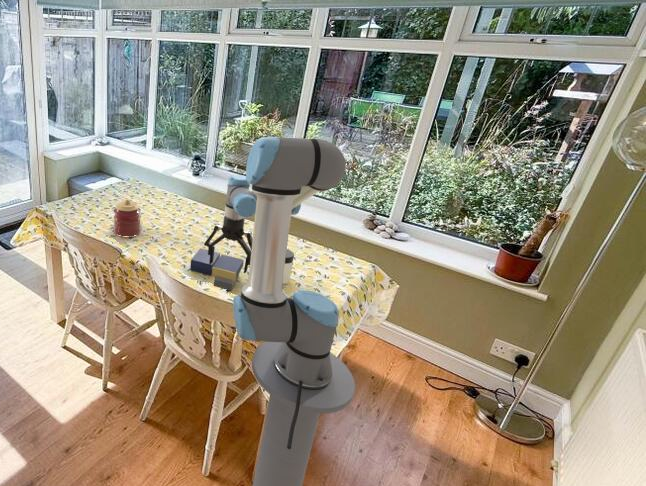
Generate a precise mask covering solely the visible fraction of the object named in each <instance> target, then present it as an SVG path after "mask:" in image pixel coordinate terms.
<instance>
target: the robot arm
mask: <svg viewBox="0 0 646 486" xmlns="http://www.w3.org/2000/svg"><path fill="white" fill-rule="evenodd" d="M346 169H347V163H346V159H345V156H344V154H343V152H342V150H340V149H339V147H338V146H336V145H335V144H334V143H332V142H331V141H328V140H325V139H321V138H304V137H284V136H264V137H259V138H258V139H257V140H255V141H254V143H253V144H252V146H251V148H250V150H249V154H248V156H247V161H246V166H245V171H246V172H245V175H241V174H233V175H230V176H229V178H228V181H227V189H226V198H225V205H224V216H223V223H222V226H221V225H220V224H219V223H215V225H214V226H213V230H212V232H211V233H210V235H209V236H208V237H207V239H206V241H205V242H204V243H203V246H205V247H207V250H208V255H210V262H209V264H212V262H213V258H214V252H215V248H216V245H217V244H218V243H220V242H221V241H222V240H224V239H226V240H228V241H233V242H237V243H238V244H239V245H240V247H241V248H242V250H243V251H244V253H245V255H246V256H245V260H244V267H243V274H246V273H247V272H248V280H247V283H246V284H244V285H243V286H241V289H240V294H237V295H236V294H235V295H234V297H233V299H232V307H233V308H232V310H233V319H234V320H233V321H234V324H235V329H236V332H237V335H238V336H239V338H241V339H242V340H244V341H250V342H252V341H254V342H256V343H258V342H283V343H282V345H281V346H280V348H279V349H278V351H277V352H276V354H275V358H274V366H275V369H276V371H277V372H278V374H279V375H280V376H281V377H282V378H283V379H284V380H286V381H287V382H289V383H290V384H292V385H294V386H297V387H298V393H297V401H296V408H295V412H294V416H293V420H292V423H291V427H290V432H289V438H288V444H287V448H288V449H291V445H292V439H293V433H294V428H295V424H296V420H297V417H298V413H299V407H300V399H301V391H302V388H303V389H308V390H319V389H323V388H325V387H327V386H328V385H329V384H330V382H331V378H332V366H331V360H330V352H331V349H332V347H333V346H332V345H333V342H334V338H335V334H336V330H337V327H338V325H339V317H340V312H339V308H338V306H337V304H335V302H334V301H332V300H331V299H330V298H329V297H327V296H325V295H323V294H321V293H319V292H316V291H314V290H309V289H298V290H297V291H295V292H294V293H293V295H292V297H288V295H287V293H286V292H285V290H284V289H283V284H282V282H283V274H284V266H285V258H286V250H287V249H288V243H289V242H288V241H289V234H290V226H291V218H292V217H291V216H295V215H298V214H299V212H300V210H301V207H302V204H303V203H304V202H306V201H307V200H309V199H310V198H312V197H313V196H315V195H316V194H318V193H319V192H324V191H329V190H331V189H333V188H334V187H336V186H337V185H338V184H339V183H340V182H341V181H342V180H343V178H344V176H345V174H346ZM250 187H251V190H250ZM252 216H254V223H253V230H252V231H253V232H252V231H251V230H249V231H245V230H244V227H245V220H246V218H250V217H252ZM220 231H221V232H222V234H220V236H218V237H216V239H215V240H213V241H212V239H213V238H214V236H216V234H217V232H220ZM243 236H244V237H245V238H246V241H247V243H246V241H245V240H244V237H243ZM211 241H212V242H211ZM248 268H249V271H248Z"/></svg>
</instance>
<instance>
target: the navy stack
mask: <svg viewBox="0 0 646 486" xmlns="http://www.w3.org/2000/svg"><path fill="white" fill-rule="evenodd" d="M220 256H221V252H218V251H214V258H213V262H212V264H209V262H210V255H208V249H205V248H201V247H200V248H198V250H197V251H196V253H194V255H193V257H192V258H191V259H190V268H189V271H192V272H196V273H199V274H202V275H207V276H210V277H212V276H213V275H212V269H213V266H214V265H215V263H216V262H217V260H218V259H219V258H220Z"/></svg>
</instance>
